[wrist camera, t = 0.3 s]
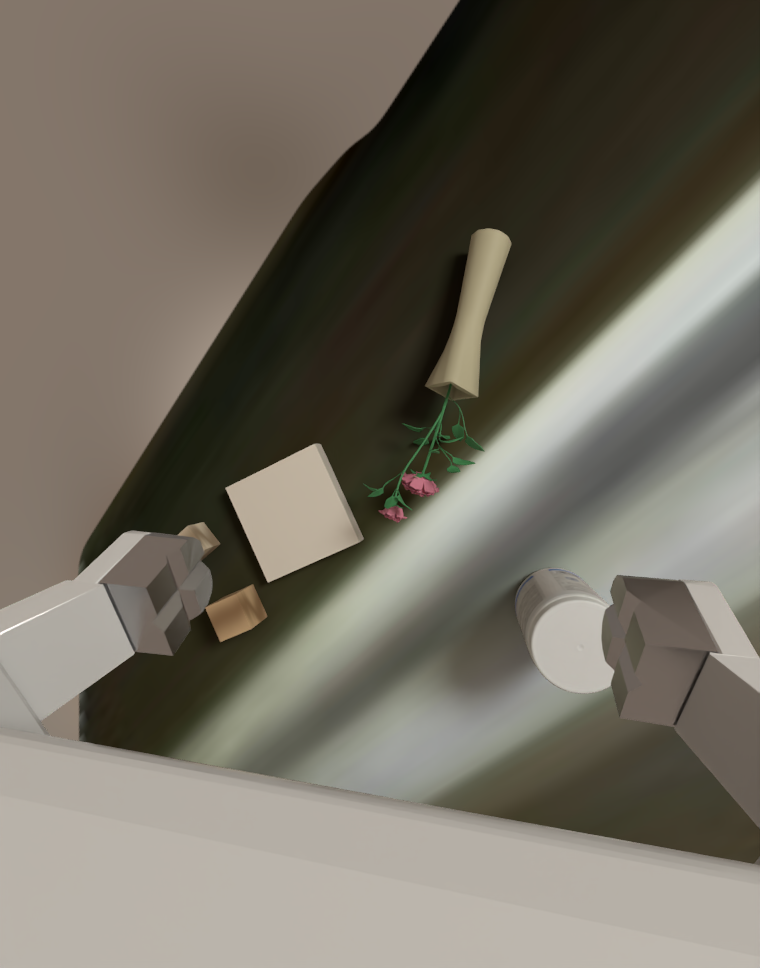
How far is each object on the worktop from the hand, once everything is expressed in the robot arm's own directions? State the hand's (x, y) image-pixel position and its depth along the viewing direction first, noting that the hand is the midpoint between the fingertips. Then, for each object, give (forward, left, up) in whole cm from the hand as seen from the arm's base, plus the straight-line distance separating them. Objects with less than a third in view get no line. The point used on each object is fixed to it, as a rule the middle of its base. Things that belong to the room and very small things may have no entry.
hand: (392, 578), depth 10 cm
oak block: (-5, +35, -54) cm, 64 cm away
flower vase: (+11, -4, -54) cm, 55 cm away
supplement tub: (-20, -4, -54) cm, 57 cm away
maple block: (+6, +37, -54) cm, 65 cm away
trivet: (+4, +22, -53) cm, 58 cm away
